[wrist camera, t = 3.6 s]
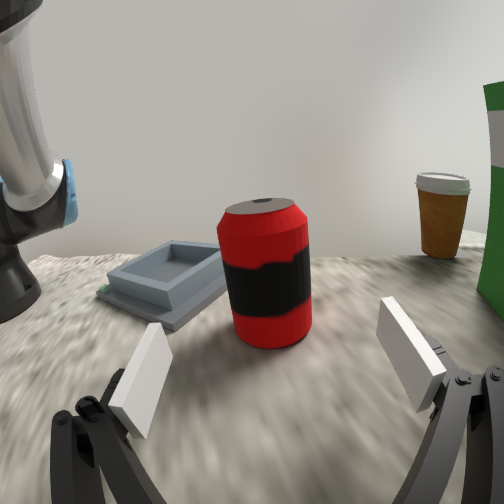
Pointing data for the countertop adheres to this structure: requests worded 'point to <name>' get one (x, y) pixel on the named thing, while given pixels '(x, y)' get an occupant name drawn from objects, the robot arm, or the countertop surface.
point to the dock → (168, 283)
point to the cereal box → (495, 204)
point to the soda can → (267, 271)
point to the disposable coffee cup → (442, 212)
